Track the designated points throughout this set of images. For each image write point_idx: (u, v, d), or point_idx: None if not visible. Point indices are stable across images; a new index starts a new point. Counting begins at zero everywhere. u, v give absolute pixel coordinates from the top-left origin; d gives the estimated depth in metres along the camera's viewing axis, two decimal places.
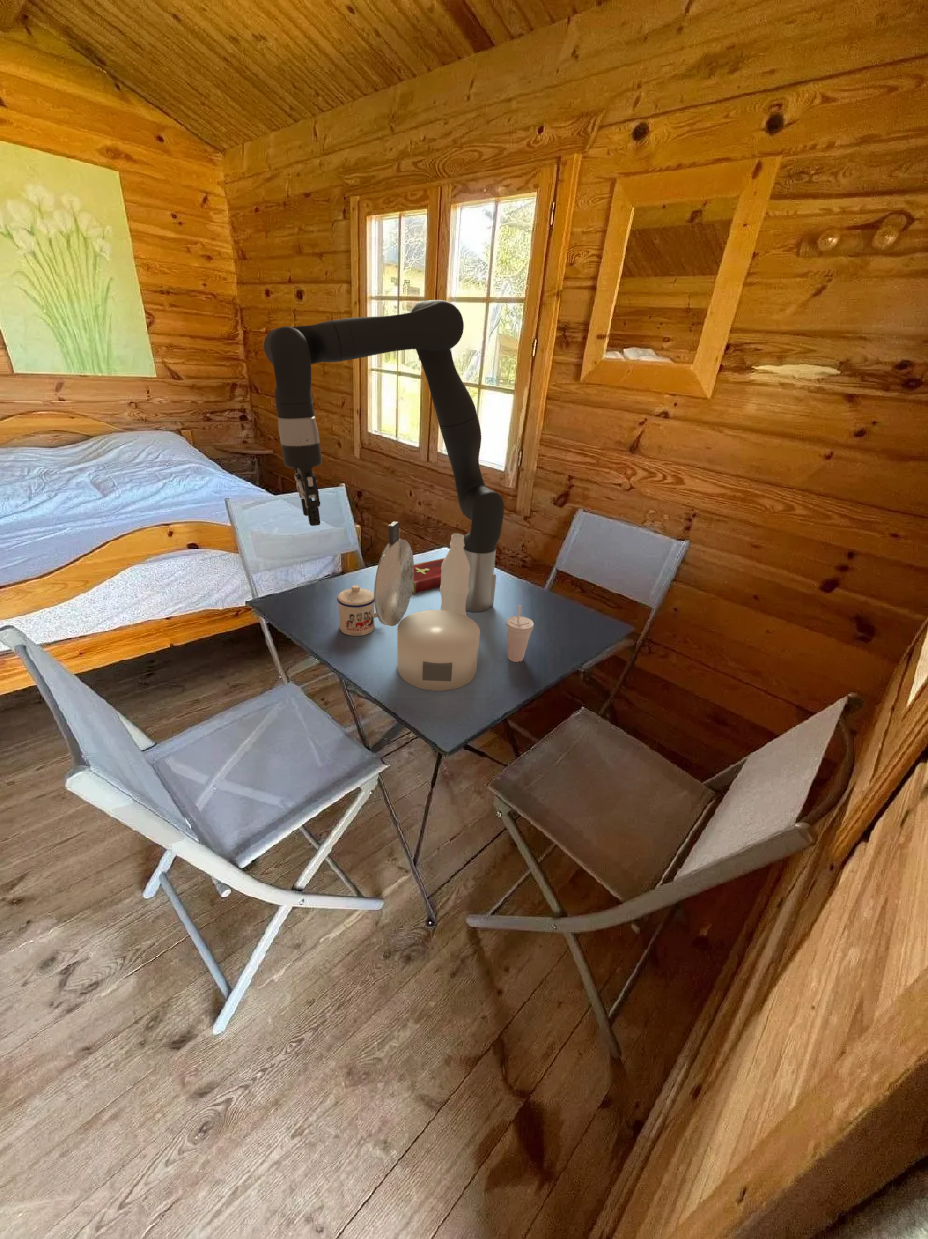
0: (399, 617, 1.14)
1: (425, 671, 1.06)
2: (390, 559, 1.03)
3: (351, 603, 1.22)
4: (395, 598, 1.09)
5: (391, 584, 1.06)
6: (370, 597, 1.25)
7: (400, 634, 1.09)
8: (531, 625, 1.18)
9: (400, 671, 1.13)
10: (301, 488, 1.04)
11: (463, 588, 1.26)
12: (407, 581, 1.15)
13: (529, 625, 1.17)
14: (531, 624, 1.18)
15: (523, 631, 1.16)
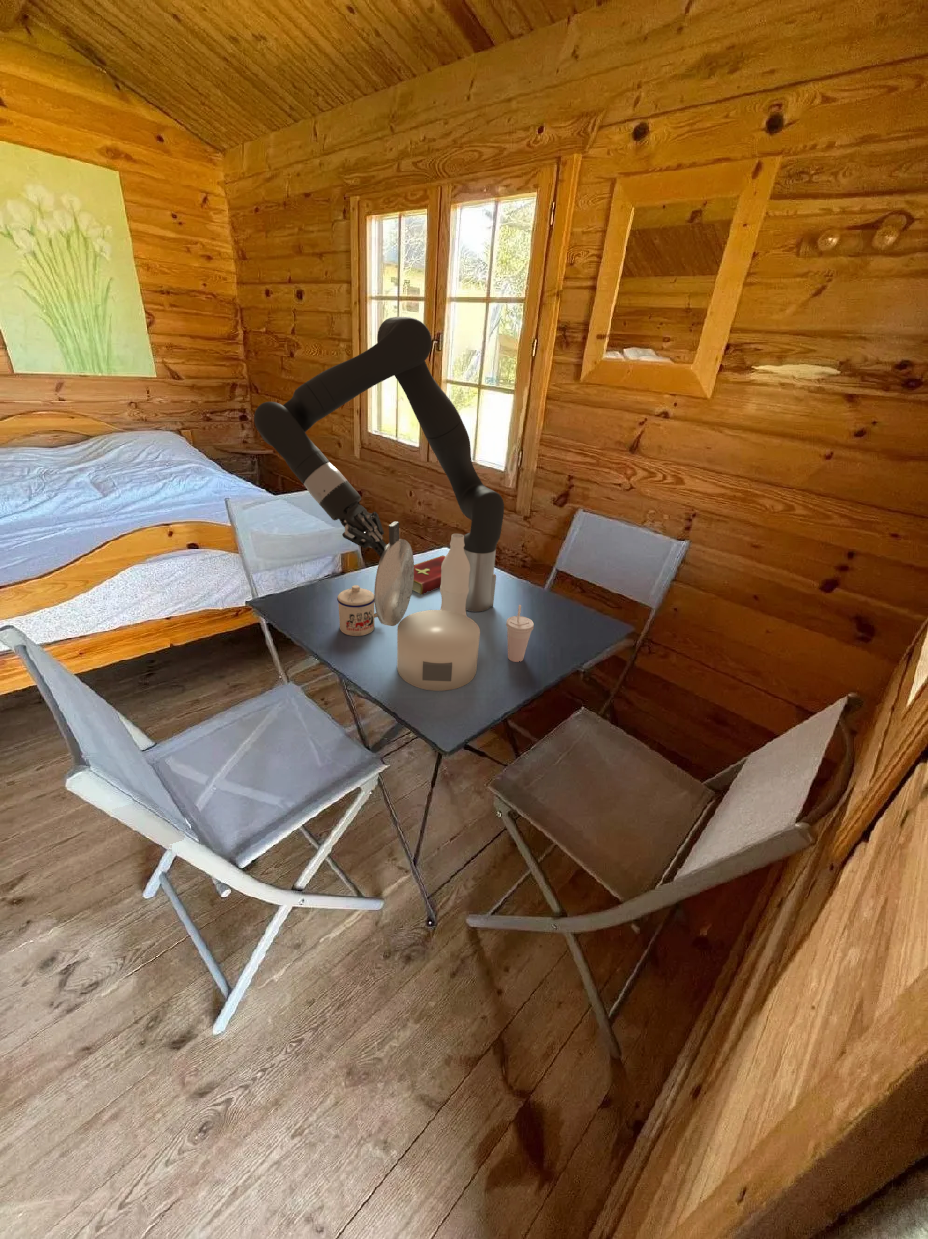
0: (399, 617, 1.14)
1: (425, 671, 1.06)
2: (390, 559, 1.03)
3: (351, 603, 1.22)
4: (395, 598, 1.09)
5: (391, 584, 1.06)
6: (370, 597, 1.25)
7: (400, 634, 1.09)
8: (531, 625, 1.18)
9: (400, 671, 1.13)
10: None
11: (463, 588, 1.26)
12: (407, 581, 1.15)
13: (529, 625, 1.17)
14: (531, 624, 1.18)
15: (523, 631, 1.16)
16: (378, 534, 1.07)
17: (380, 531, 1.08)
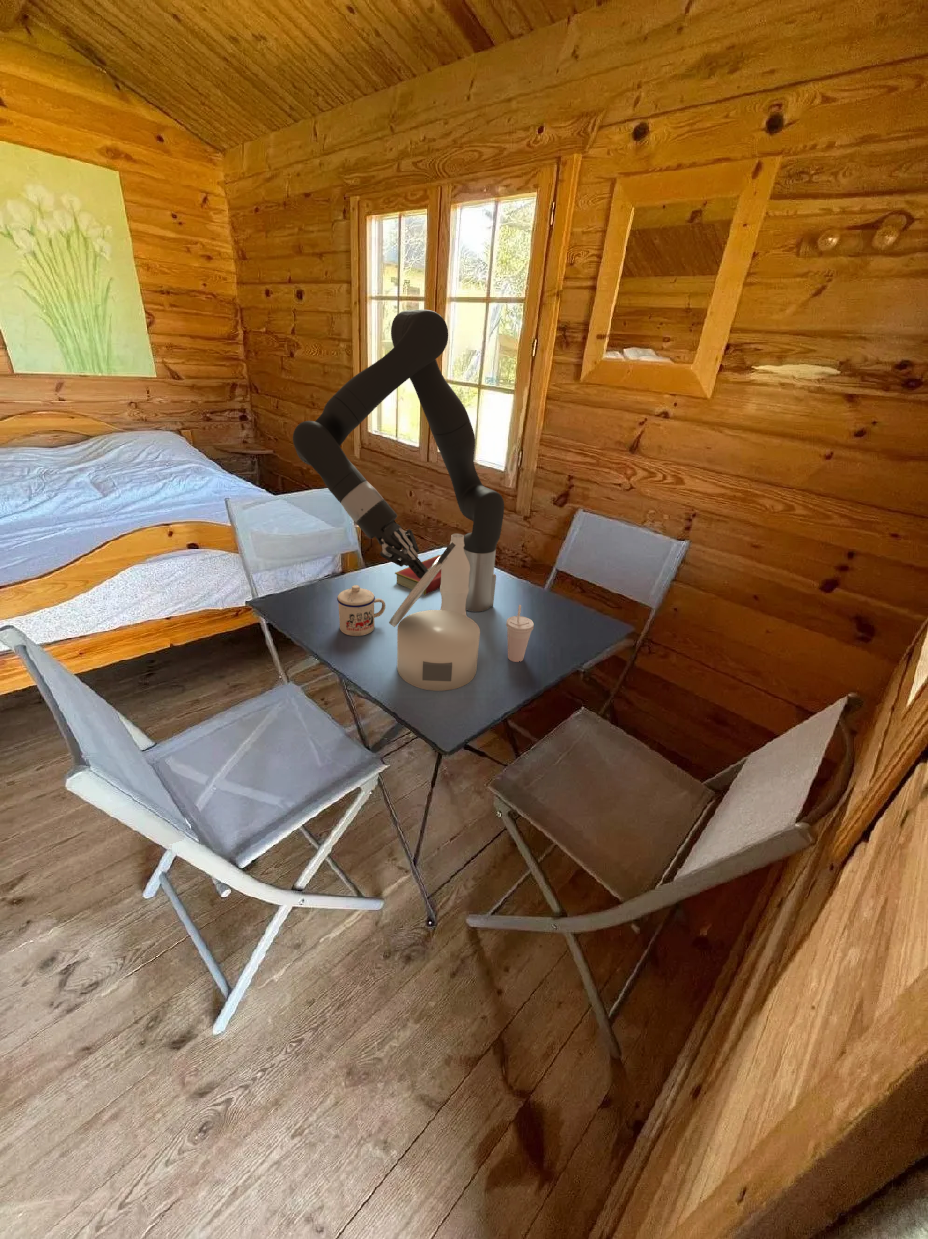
0: None
1: (425, 671, 1.06)
2: None
3: (351, 603, 1.22)
4: (411, 604, 1.09)
5: (418, 595, 1.05)
6: (370, 597, 1.25)
7: (400, 634, 1.09)
8: (531, 625, 1.18)
9: (400, 671, 1.13)
10: None
11: (463, 588, 1.26)
12: (425, 588, 1.15)
13: (529, 625, 1.17)
14: (531, 624, 1.18)
15: (523, 631, 1.16)
16: (414, 552, 1.07)
17: (415, 549, 1.08)
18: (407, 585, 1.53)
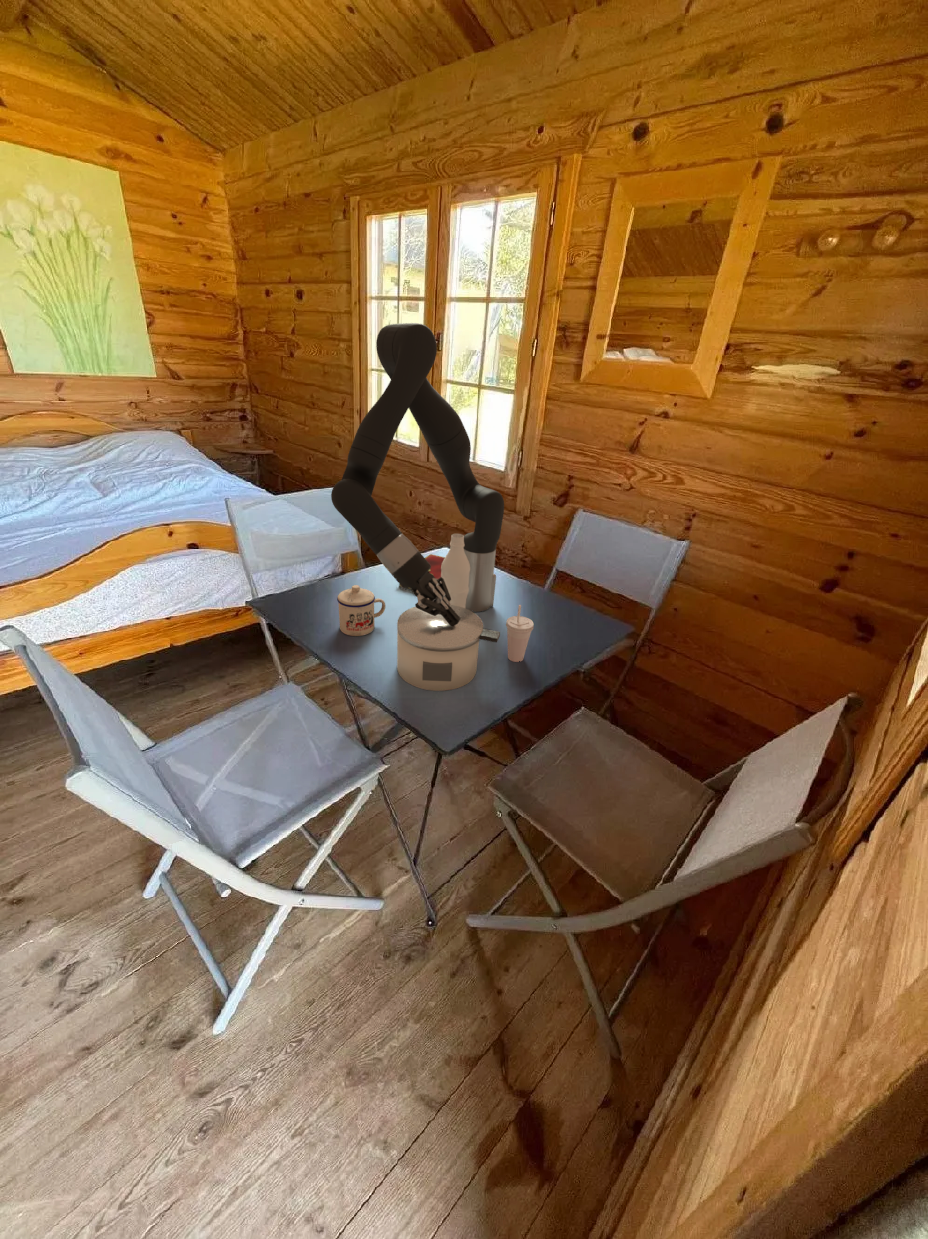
0: None
1: (425, 671, 1.06)
2: None
3: (351, 603, 1.22)
4: None
5: None
6: (370, 597, 1.25)
7: None
8: (531, 625, 1.18)
9: (400, 671, 1.13)
10: None
11: (463, 588, 1.26)
12: None
13: (529, 625, 1.17)
14: (531, 624, 1.18)
15: (523, 631, 1.16)
16: (446, 601, 1.10)
17: (448, 597, 1.11)
18: None
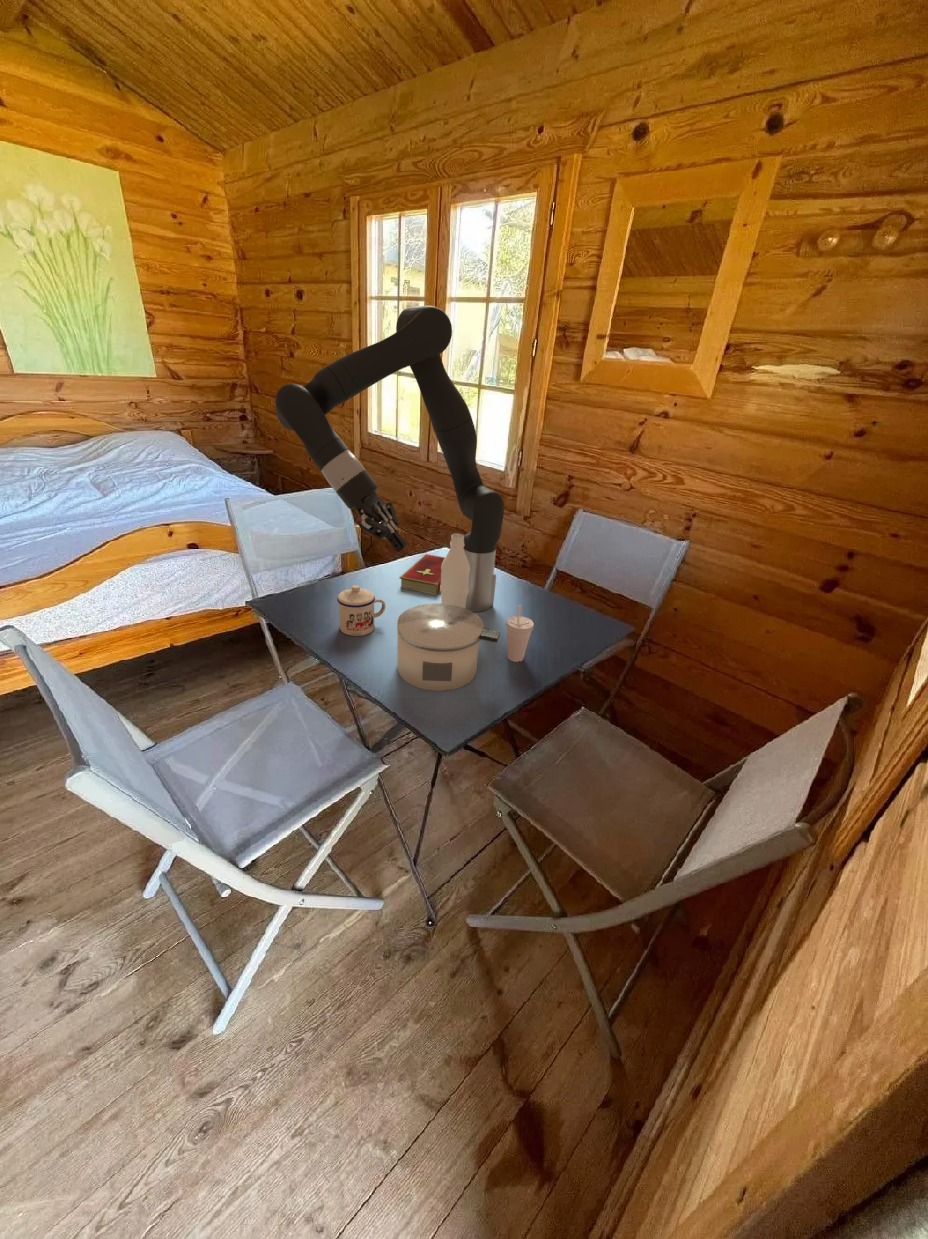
0: None
1: (425, 671, 1.06)
2: None
3: (351, 603, 1.22)
4: None
5: None
6: (370, 597, 1.25)
7: None
8: (531, 625, 1.18)
9: (400, 671, 1.13)
10: None
11: (463, 588, 1.26)
12: None
13: (529, 625, 1.17)
14: (531, 624, 1.18)
15: (523, 631, 1.16)
16: (393, 525, 1.07)
17: (395, 522, 1.08)
18: (414, 588, 1.52)
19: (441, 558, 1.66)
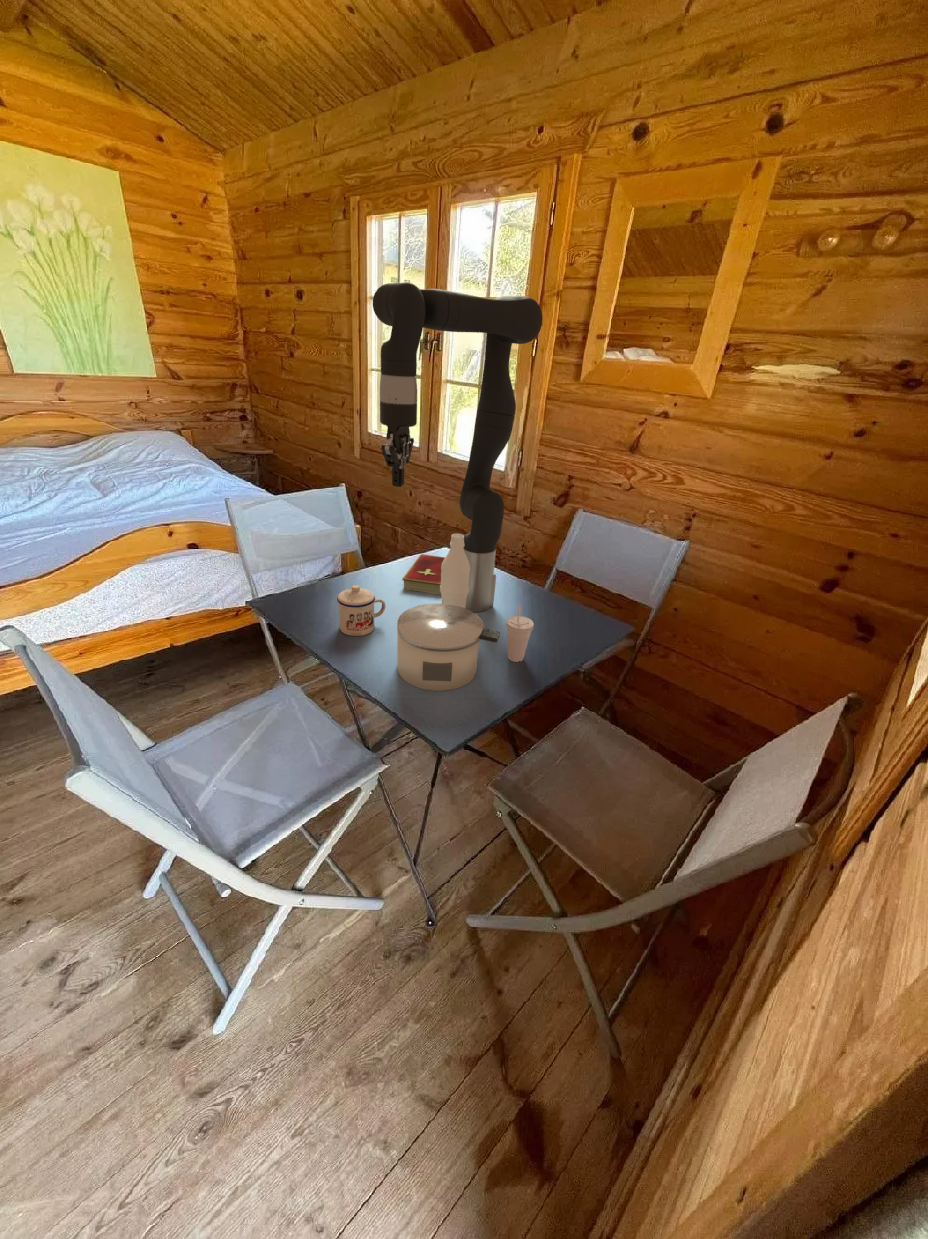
0: None
1: (425, 671, 1.06)
2: None
3: (351, 603, 1.22)
4: None
5: None
6: (370, 597, 1.25)
7: None
8: (531, 625, 1.18)
9: (400, 671, 1.13)
10: None
11: (463, 588, 1.26)
12: None
13: (529, 625, 1.17)
14: (531, 624, 1.18)
15: (523, 631, 1.16)
16: (404, 462, 1.10)
17: (407, 460, 1.11)
18: (418, 589, 1.51)
19: (438, 558, 1.67)
